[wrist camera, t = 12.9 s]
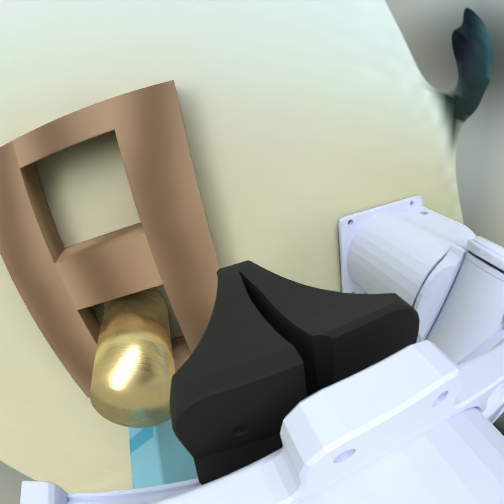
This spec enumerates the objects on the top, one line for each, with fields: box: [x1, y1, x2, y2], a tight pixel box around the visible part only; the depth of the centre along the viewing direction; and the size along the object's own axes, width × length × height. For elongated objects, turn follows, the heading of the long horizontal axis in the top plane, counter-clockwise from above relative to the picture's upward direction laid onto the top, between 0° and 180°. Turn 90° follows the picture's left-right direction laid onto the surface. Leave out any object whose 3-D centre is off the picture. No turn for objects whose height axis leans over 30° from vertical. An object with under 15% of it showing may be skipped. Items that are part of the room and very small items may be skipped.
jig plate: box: [0, 80, 220, 397], centre depth 19 cm, size 14×20×2 cm
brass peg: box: [90, 288, 175, 428], centre depth 18 cm, size 5×5×9 cm
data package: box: [129, 419, 198, 489], centre depth 23 cm, size 12×4×12 cm, turn 44°
